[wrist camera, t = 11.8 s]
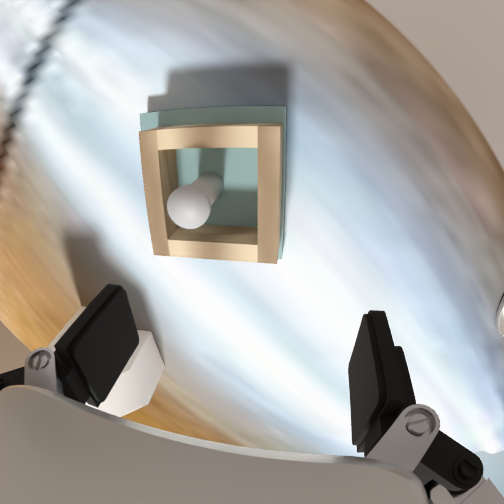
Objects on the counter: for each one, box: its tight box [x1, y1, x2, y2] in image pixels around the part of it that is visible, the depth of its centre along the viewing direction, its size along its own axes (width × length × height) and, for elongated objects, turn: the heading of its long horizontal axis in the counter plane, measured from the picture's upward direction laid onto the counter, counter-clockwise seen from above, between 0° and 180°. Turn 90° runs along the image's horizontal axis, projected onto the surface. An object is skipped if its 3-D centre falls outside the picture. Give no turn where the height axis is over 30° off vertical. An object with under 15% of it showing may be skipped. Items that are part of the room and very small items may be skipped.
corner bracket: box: [47, 306, 165, 417], centre depth 36 cm, size 11×11×12 cm
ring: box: [139, 123, 283, 264], centre depth 25 cm, size 11×11×4 cm
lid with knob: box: [140, 106, 286, 259], centre depth 25 cm, size 13×14×8 cm
